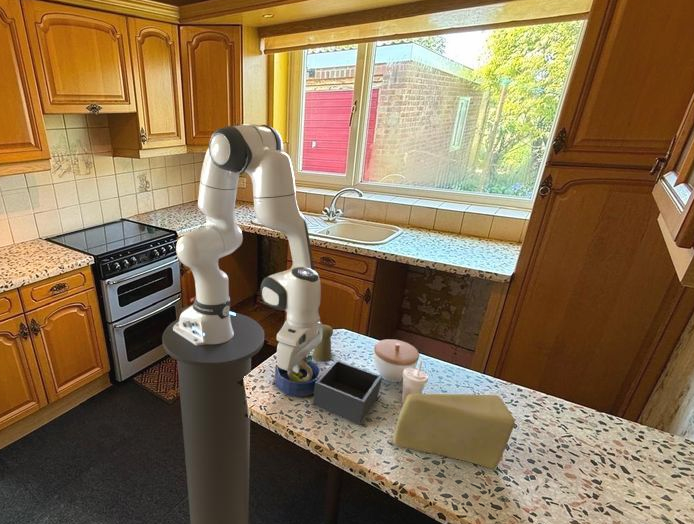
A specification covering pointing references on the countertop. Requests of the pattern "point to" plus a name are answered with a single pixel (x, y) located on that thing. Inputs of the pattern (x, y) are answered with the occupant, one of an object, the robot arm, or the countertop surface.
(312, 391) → the toy bowl
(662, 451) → the countertop surface
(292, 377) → the rattle
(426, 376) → the smoothie
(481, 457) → the cheese
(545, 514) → the countertop surface
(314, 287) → the robot arm
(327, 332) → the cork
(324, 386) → the bin
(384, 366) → the lidded bowl
